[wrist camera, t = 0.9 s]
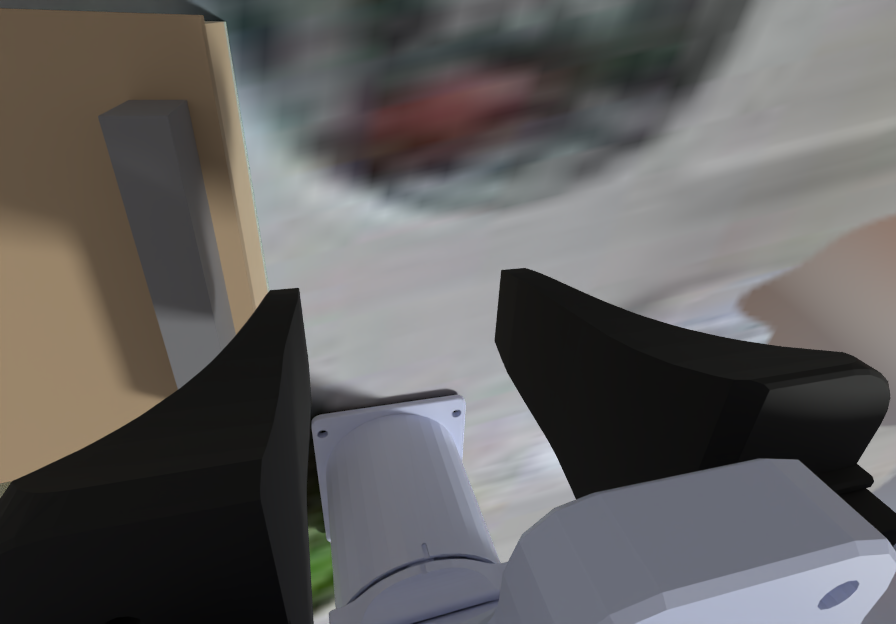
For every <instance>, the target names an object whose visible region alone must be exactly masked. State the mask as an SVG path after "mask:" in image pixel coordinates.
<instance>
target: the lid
mask: <svg viewBox="0 0 896 624" xmlns="http://www.w3.org/2000/svg"><path fill="white" fill-rule="evenodd" d="M255 310H256V305H255V300H254V294H253V288H252V283H251V277H250V272H249V266H248V261H247V255H246V249H245V244H244V238H243V233H242V227H241V222H240V216H239V210H238V205H237V199H236V194H235V188H234V183H233V177H232V171H231V166H230V160H229V155H228V149H227V144H226V138H225V132H224V127H223V121H222V116H221V110H220V104H219V99H218V93H217V88H216V82H215V77H214V71H213V65H212V60H211V54H210V49H209V43H208V38H207V32H206V26H205V21H204V15H183V14H154V13H124V12H95V11H65V10H36V9H7V8H0V483H4V482H10V481H13V480H16V479H18V478H20V477H22V476H25V475H27V474H29V473H31V472H34V471H36V470H38V469H40V468H42V467H44V466H46V465H48V464H50V463H53V462H55V461H57V460H59V459H61V458H63V457H65V456H67V455H70V454H72V453H74V452H76V451H78V450H80V449H82V448H84V447H86V446H88V445H90V444H92V443H94V442H95V441H97V440H99V439H101V438H103V437H105V436H106V435H108V434H110V433H112V432H114V431H115V430H117V429H119V428H121V427H122V426H124V425H126V424H127V423H129V422H131V421H132V420H134V419H136V418H137V417H139V416H140V415H142V414H144V413H145V412H147V411H148V410H149V409H151V408H152V407H154V406H155V405H157V404H158V403H160V402H161V401H162V400H164V399H165V398H167V397H168V396H170V395H171V394H172V393H174V392H175V391H177V390H178V389H180V388H181V387H182V386H183V385H185V384H186V383H187V382H188V381H190V380H191V379H192V378H193V377H194V376H196V375H197V374H198V373H199V372H200V371H202V370H203V369H204V368H205V367H206V366H207V365H208V364H209V363H210V362H211V361H212V360H213V359H214V358H215V357H216V356H217V355H218V354H219V353H220V352H221V351H222V350H223V349H224V348H225V347H226V346H227V345H228V343H229V342H230V341H231V340H232V339H233V338H234V337H235V335H236V334H237V333H238V332H239V331H240V329H241V328H242V327H243V326H244V324H245V323H246V322H247V321H248V319H249V318H250V317H251V315H252V314H253V313H254V311H255Z"/></svg>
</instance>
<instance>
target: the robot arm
mask: <svg viewBox="0 0 896 624" xmlns="http://www.w3.org/2000/svg"><path fill="white" fill-rule="evenodd" d="M495 343H496V346H497V348H498V351H499V354H500V356H501V359H502V361H503V363H504V366H505V368H506V370H507V373H508V374H509V376H510V378H511V380H512V381H513V383H514V385H515V387H516V388H517V390H518V392H519V393H520V395H521V397H522V398H523V400H524V402H525V403H526V405H527V407H528V408H529V410H530V411H531V413H532V415H533V416H534V418H535V420H536V421H537V423H538V425H539V426H540V428H541V430H542V431H543V433H544V435H545V436H546V438H547V439H548V441H549V443H550V445H551V447H552V449H553V450H554V452H555V454H556V456H557V458H558V460H559V463H560V465H561V467H562V469H563V471H564V474H565V476H566V478H567V480H568V482H569V484H570V487H571V489H572V491H573V493H574V496H575V498H576V500H574V501H571V502H569V503H566V504H564V505H561V506H558V507H556V508H554V509H552V510H551V511H550V512H549V513H548V514H546V515H545V516H544V517H543V518H541V519H540V520H539V521H538V522H537V523H535V524H534V525H533V526H532V527H530V528H529V529H528V530H527V531H526V532H524V533H523V534H522V536H521V538H520V539H519V541H518V543H517V545H516V547H515V549H514V551H513V553H512V555H511V557H510V559H509V561H508V562H505V563H500V560H499V558H498V555H497V552H496V550H495V547H494V544H493V542H492V539H491V537H490V534H489V531H488V529H487V526H486V523H485V521H484V518H483V516H482V513H481V510H480V508H479V505H478V502H477V500H476V497H475V495H474V492H473V489H472V487H471V484H470V481H469V479H468V476H467V474H466V471H465V468H464V466H463V463H462V456H463V440H464V424H465V408H466V403H465V400H464V398H463V397H462V396H460V395H451V396H444V397H437V398H430V399H424V400H417V401H410V402H403V403H396V404H389V405H382V406H376V407H369V408H362V409H355V410H348V411H341V412H334V413H327V414H321V415H317V416H315V417H314V418H313V419H312V422H311V428H312V435H313V443H314V450H315V457H316V465H317V472H318V480H319V487H320V494H321V502H322V509H323V517H324V524H325V531H326V538H327V540H328V541H329V542H331V552H332V565H333V578H334V592H335V605H336V609H334V610H332V611H330V612H329V624H896V513H895V512H894V511H893V510H891V509H890V508H889V507H888V506H887V505H886V504H884V503H883V502H882V501H881V500H880V499H878V498H877V497H876V496H875V495H874V494H872V493H871V492H870V491H869V490H868V489H866V488H868V487H871V486H872V484H873V483H874V480H873V477H872V476H871V475H870V474H869V473H868V472H866V471H865V470H864V469H863V468H861V467H860V466H859V465H858V464H857V462H858V461H859V459H860V457H861V456H862V454H863V452H864V451H865V449H866V447H867V446H868V444H869V443H870V441H871V439H872V438H873V436H874V434H875V433H876V431H877V430H878V428H879V426H880V425H881V423H882V421H883V419H884V416H885V414H886V412H887V410H888V406H889V400H890V390H889V384H888V381H887V380H886V378H885V377H884V376H883V375H882V374H881V373H880V372H878V371H877V370H875V369H874V368H872V367H870V366H869V365H867V364H865V363H864V362H862V361H861V360H859V359H857V358H856V357H854V356H852V355H849V354H846V353H843V352H833V351H823V350H811V349H802V348H791V347H781V346H774V345H767V344H760V343H754V342H747V341H741V340H736V339H730V338H725V337H720V336H715V335H711V334H706V333H702V332H697V331H693V330H689V329H685V328H681V327H677V326H674V325H670V324H667V323H664V322H660V321H657V320H654V319H651V318H647V317H644V316H641V315H638V314H635V313H633V312H630V311H627V310H625V309H622V308H620V307H617V306H614V305H612V304H609V303H607V302H604V301H602V300H600V299H597V298H595V297H593V296H590V295H588V294H586V293H584V292H581V291H579V290H577V289H575V288H572V287H570V286H568V285H566V284H564V283H561V282H559V281H557V280H555V279H553V278H550V277H548V276H546V275H543V274H541V273H538V272H536V271H533V270H530V269H526V268H520V269H509V270H501V279H500V290H499V300H498V311H497V321H496V332H495ZM455 410H458V411H457V412H455V413H453V411H455ZM310 417H311V388H310V374H309V362H308V354H307V347H306V339H305V331H304V323H303V316H302V308H301V300H300V292H299V288H292V289H280V290H270V291H269V292H268V293H267V294H266V295H265V297H264V298H263V300H262V301H261V303H260V304H259V306H258V307H257V308H256V310H255V311H254V313H253V314H252V315H251V317H250V318H249V319H248V321H247V322H246V323H245V324H244V326H243V327H242V328H241V329H240V331H239V332H238V333H237V334H236V335H235V337H234V338H233V339H232V340H231V341H230V342H229V343H228V345H227V346H226V347H225V348H224V349H223V350H222V351H221V352H220V353H219V354H218V355H217V356H216V357H215V358H214V359H213V360H212V361H211V362H210V363H209V364H208V365H207V366H206V367H205V368H204V369H203V370H202V371H200V372H199V373H198V374H197V375H196V376H194V377H193V378H192V379H191V380H190V381H188V382H187V383H186V384H185V385H183V386H182V387H181V388H180V389H178V390H177V391H175V392H174V393H172V394H171V395H170V396H168V397H167V398H165V399H164V400H162V401H161V402H160V403H158V404H157V405H155V406H154V407H152V408H151V409H149V410H148V411H147V412H145V413H144V414H142V415H140V416H139V417H137V418H136V419H134V420H132V421H131V422H129V423H127V424H126V425H124V426H122V427H121V428H119V429H117V430H115V431H114V432H112V433H110V434H108V435H106V436H105V437H103V438H101V439H99V440H97V441H95V442H94V443H92V444H90V445H88V446H86V447H84V448H82V449H80V450H78V451H76V452H74V453H72V454H70V455H67V456H65V457H63V458H61V459H59V460H57V461H55V462H53V463H50V464H48V465H46V466H44V467H42V468H40V469H38V470H36V471H34V472H31V473H29V474H27V475H25V476H22V477H20V478H18V479H16V480H13V481H12V482H11V484H10V485H9V487H8V488H7V489H6V491H5V492H4V494H3V495H2V497H1V498H0V624H314V622H313V606H312V590H311V572H310V554H309V536H308V517H307V471H308V453H309V435H310ZM322 430H325V431H326V432H324V433H320V432H319V431H322Z"/></svg>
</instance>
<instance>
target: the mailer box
mask: <svg viewBox="0 0 896 624" xmlns="http://www.w3.org/2000/svg"><path fill="white" fill-rule="evenodd" d="M205 26H206V32H207V38H208V43H209V49H210V54H211V60H212V65H213V71H214V77H215V82H216V88H217V93H218V99H219V104H220V110H221V116H222V121H223V127H224V132H225V138H226V144H227V149H228V155H229V160H230V166H231V171H232V177H233V183H234V188H235V194H236V199H237V205H238V210H239V216H240V222H241V227H242V233H243V238H244V244H245V249H246V255H247V261H248V266H249V272H250V277H251V283H252V288H253V294H254V300H255V305H256V308H257V307H258V306H259V304H260V303H261V301H262V300H263V298H264V297H265V295H266V294H267V293H268V292H269V287H268V281H267V274H266V268H265V262H264V256H263V250H262V244H261V237H260V231H259V225H258V219H257V213H256V206H255V200H254V194H253V188H252V182H251V175H250V169H249V163H248V157H247V151H246V144H245V138H244V132H243V126H242V120H241V114H240V107H239V101H238V95H237V89H236V83H235V76H234V70H233V64H232V58H231V52H230V45H229V39H228V33H227V27H226V22H221V21H205Z"/></svg>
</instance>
